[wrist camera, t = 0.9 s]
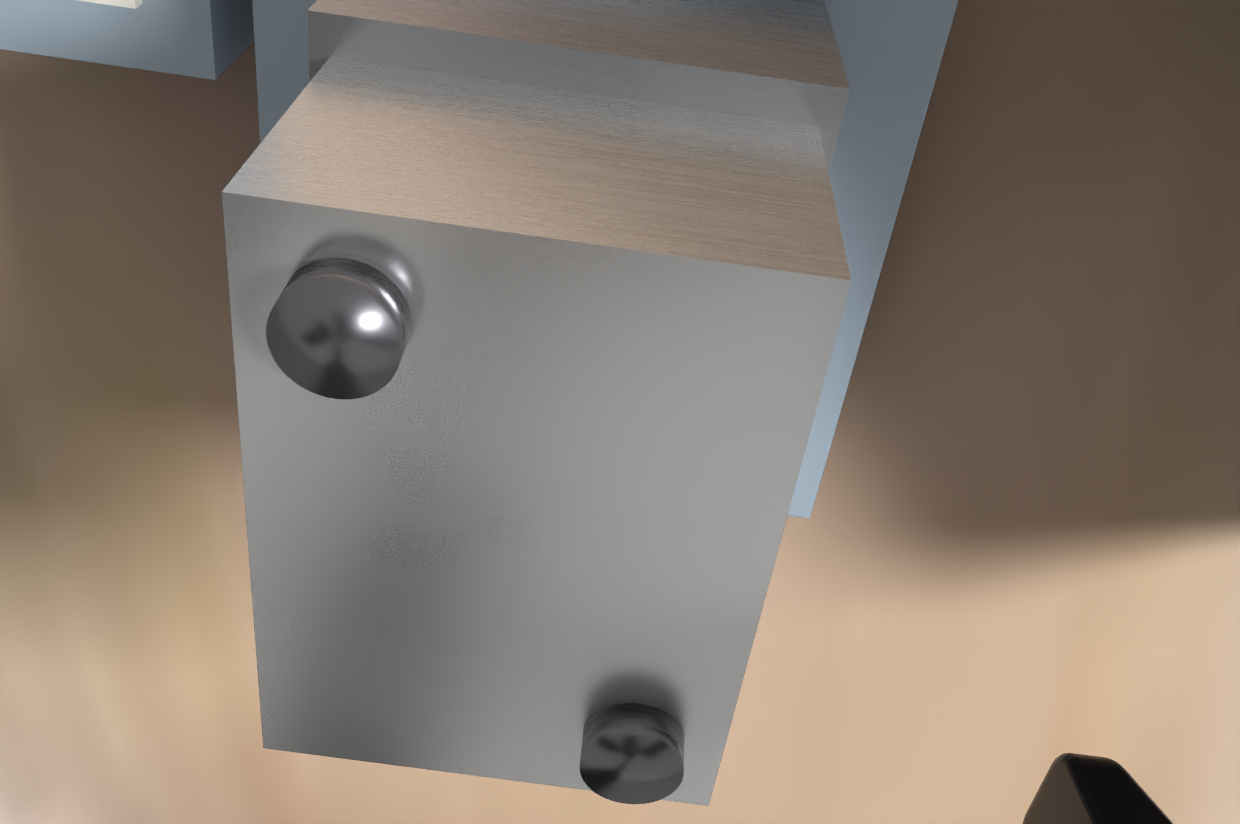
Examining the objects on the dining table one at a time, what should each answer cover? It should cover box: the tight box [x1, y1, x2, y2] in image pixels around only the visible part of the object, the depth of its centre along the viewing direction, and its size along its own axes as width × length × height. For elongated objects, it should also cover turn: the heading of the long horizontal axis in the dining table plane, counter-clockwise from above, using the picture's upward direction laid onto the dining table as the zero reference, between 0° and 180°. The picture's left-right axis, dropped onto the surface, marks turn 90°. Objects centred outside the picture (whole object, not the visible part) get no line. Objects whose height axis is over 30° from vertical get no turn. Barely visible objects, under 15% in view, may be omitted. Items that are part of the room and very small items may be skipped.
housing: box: [222, 0, 851, 806], centre depth 13 cm, size 7×5×6 cm
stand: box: [252, 0, 959, 519], centre depth 16 cm, size 8×8×2 cm
